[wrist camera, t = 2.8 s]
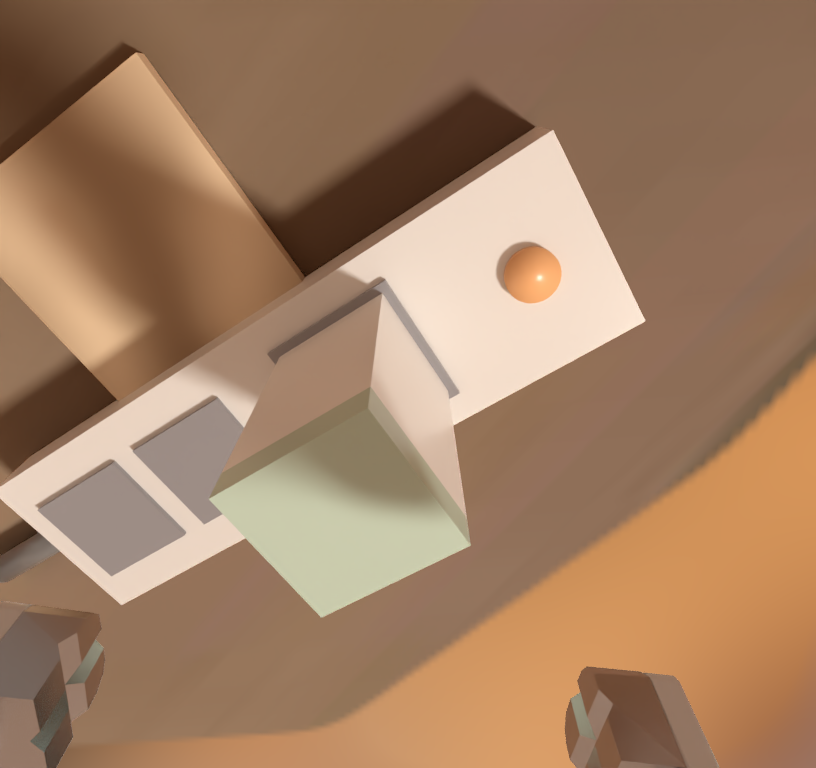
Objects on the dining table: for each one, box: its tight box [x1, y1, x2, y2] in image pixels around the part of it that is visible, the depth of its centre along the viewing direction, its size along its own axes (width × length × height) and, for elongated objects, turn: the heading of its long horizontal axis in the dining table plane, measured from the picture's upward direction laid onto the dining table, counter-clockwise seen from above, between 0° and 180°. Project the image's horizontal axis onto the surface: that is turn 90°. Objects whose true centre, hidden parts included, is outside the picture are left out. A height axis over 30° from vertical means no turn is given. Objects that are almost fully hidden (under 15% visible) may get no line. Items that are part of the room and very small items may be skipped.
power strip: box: [0, 127, 645, 605], centre depth 23 cm, size 30×7×3 cm, turn 122°
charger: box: [209, 293, 471, 618], centre depth 17 cm, size 4×4×8 cm
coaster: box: [0, 52, 305, 401], centre depth 21 cm, size 9×9×1 cm
